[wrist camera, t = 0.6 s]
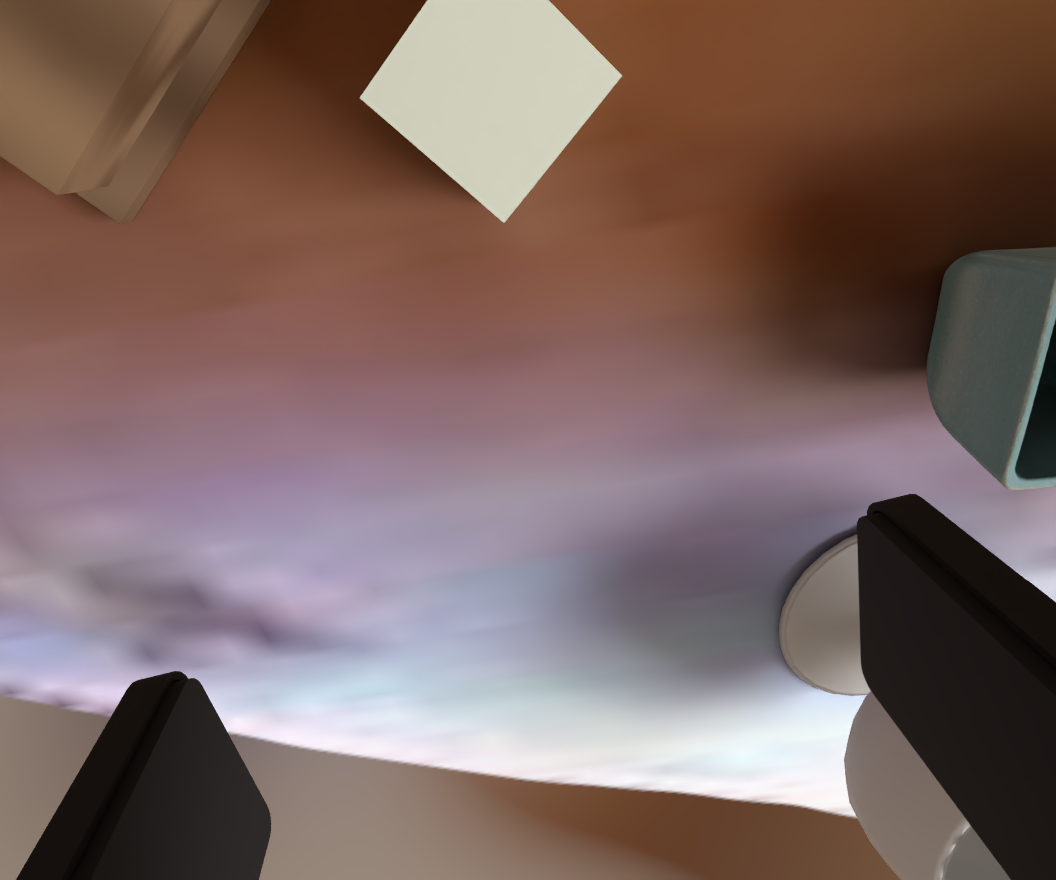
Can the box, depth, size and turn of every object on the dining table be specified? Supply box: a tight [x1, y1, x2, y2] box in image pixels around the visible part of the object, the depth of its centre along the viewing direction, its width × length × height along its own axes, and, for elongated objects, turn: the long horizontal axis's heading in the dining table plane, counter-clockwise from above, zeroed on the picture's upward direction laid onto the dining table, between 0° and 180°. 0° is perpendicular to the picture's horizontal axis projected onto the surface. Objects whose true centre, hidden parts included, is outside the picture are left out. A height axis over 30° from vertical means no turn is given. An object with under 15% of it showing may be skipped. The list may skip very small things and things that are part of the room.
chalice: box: [778, 534, 1011, 880], centre depth 34 cm, size 14×14×15 cm
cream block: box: [360, 0, 622, 223], centre depth 26 cm, size 6×6×6 cm
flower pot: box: [927, 247, 1056, 490], centre depth 30 cm, size 9×9×9 cm
